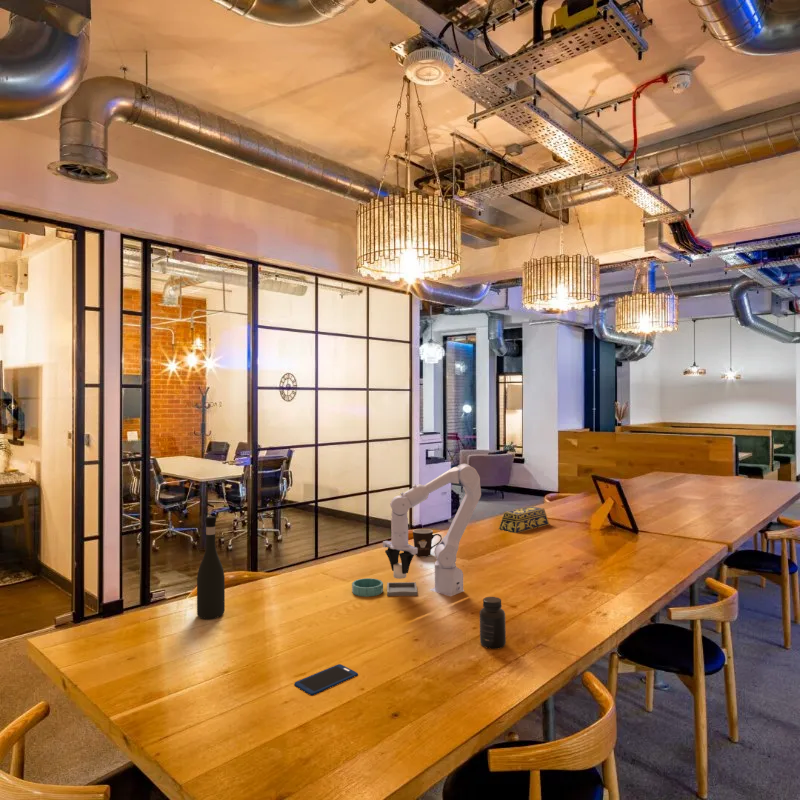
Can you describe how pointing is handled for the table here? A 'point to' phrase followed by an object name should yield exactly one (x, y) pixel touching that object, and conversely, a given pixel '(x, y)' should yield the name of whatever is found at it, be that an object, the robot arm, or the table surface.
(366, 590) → the bowl
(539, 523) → the decorative box
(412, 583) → the parts tray
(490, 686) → the table surface
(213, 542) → the wine bottle
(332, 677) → the cell phone
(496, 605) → the supplement bottle
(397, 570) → the stone
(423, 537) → the coffee mug
